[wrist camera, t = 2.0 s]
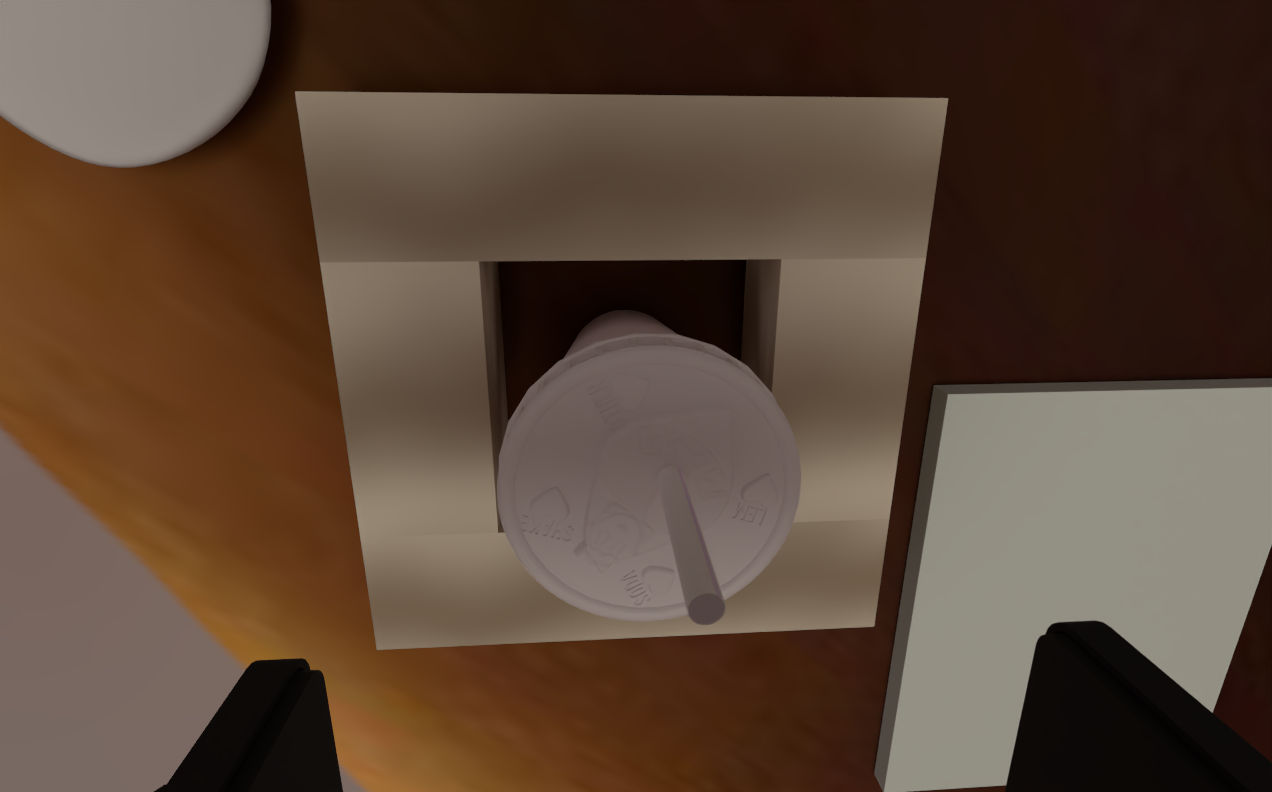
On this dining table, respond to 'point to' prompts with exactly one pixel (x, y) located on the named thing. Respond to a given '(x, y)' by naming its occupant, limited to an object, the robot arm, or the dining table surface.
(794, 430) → the wooden square frame
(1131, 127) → the dining table surface
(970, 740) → the serving board
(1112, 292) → the dining table surface
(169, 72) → the white long flared piece
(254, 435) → the dining table surface
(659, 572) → the smoothie
